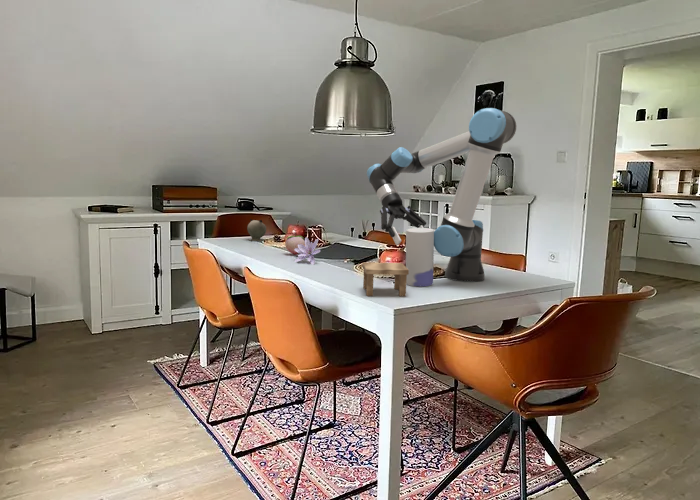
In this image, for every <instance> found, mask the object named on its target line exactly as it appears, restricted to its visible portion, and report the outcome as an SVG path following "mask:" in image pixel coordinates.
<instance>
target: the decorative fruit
mask: <svg viewBox="0 0 700 500" xmlns="http://www.w3.org/2000/svg"><path fill="white" fill-rule="evenodd" d="M298 244H302V245H304V246H305V238H304V237H303V236H302V235H297V234H296V233H295V234H294V235H289V236H287V237H286V238H285V243H284V246H285V248H286V250H287V251H288V252H289V253H291V254H293V255H294V256H295V255H299V253H298V252H296V251H295V250H294V249H295V248H298ZM305 247H306V246H305Z"/></svg>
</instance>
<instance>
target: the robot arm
mask: <svg viewBox="0 0 700 500" xmlns="http://www.w3.org/2000/svg"><path fill="white" fill-rule="evenodd" d="M516 131H517V123H516V120H515V118H514V116H513V115H512V114H511V113H510V112H508V111H505V110H504V111H503V110H500V109H497V108H494V107H486V108H485V107H484V108H481V109H479V110H477V111H476V112H475V113H474V114H473V116H471V119H470V120H469V124H468V131H465V132H463V133H459V134H458V135H455V136H452V137H450V138H447V139H445V140H443V141H440V142H437V143H435V144H432V145H430V146H428V147H425V148H422V149H419V150H417V151H414V152H412V153H411V152H410V151H409V150H408V149H407V148H405V147H403V146H400V147H398V148H397V149H395V150H394V151H393V152H392V153H391V154H390V155H389V156H388V158H386V159H385V161H384V162H382V163H374V164H373V165H371V166H370V167H368V168H367V171H366V176H367V178H368V179H367V180H368V181H369V183H370V184H371V186H372V189H373V190H374V191H375V194H376V196H377V198H378V200H379V201H380V203H381V206H382V207H381V209H380V210H379V213H380V218H381V219H380V220H381V222H380V223H381V224H380V225H381V226H380V229H381V230H382V231H385V233H388V234H389V235H390V237H391V238H392V239H393V242H394V244H395V245H396V246H399V245H400V244H401V242H402V239H401V237H400V235H399V233H398V232H397V229H396V227H395V226H393V224H394V220H396V219H400V220H401V219H402V220H404V221H407V222H408V223H410V224H411V225H412V226H414V228H425V226H426V224H427V222H426V220H425V219H423V218H422V217H421V216H420V215H419V214H418V213H417V212H416V211H415V210H414V208H413V207H412V206H410V205H407V207H405V206H404V205H403V199H402V197H401V195H399V192H398V190H397V189H396V186H395V185H394V183H393V180H395V179H396V178H397V177H398V176H399V175H400V174H406V173H407V174H417V173H421V172H423V171H424V170H425V169H427V168H430V167H433V166H436V165H439V164H440V163H443V162H444V163H445V162H446V161H449V160H452V159H454V158H458V157H460V156H462V155H466V154H467V153H468V155H467V158H466V161H465V164H464V167H463V171H462V173H461V177H460V179H459V183H458V186H457V189H456V191H455V195H454V197H453V200H452V204H451V206H450V210H449V212H448V213H446V214H444V215H443V218H442V220H441V223H440V226H438V227H437V228H436V229H434V250H435V251H436V252H437V253H438V254H440V255H442V256H443V257H446V258H447V257H450V259H449V260H448V263H447V266H446V268H445V273H444V274H445V275H444V277H445V278H446V279H449V280H452V281H453V280H454V281H460V282H480V281H481V282H482V281H484V280H485V270H484V267H483V263H482V248H483V247H482V246H483V235H484V223H483V221H481V220H477V219H476V220H475V219H474V215H475V212H476V210H477V207H478V204H479V202H480V198H481V195H482V192H483V190H484V186H485V184H486V182H487V178H488V174H489V173H490V169H491V166H492V163H493V161H494V158H495V156H497V155H498V154H500V153H501V152H502V147H503V145H504V144H506V143H508V142H510V141H511V140H512V139H513V138H514V136H515V135H516ZM388 214H389V218H388Z"/></svg>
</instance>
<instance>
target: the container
mask: <svg viewBox="0 0 700 500" xmlns="http://www.w3.org/2000/svg"><path fill="white" fill-rule="evenodd" d="M434 231H435V229H433V228H428V227H427V228H426V227H424V228H417V227H412V228H408V229H407V228H406V229H405V267H406V268H407V269H408V270H409V275H407V280H406V285H408V286H410V287H411V286H412V287H429V286H432V285H433V284H434V261H435V260H434V256H435V255H434V254H435V253H434V252H435V247H434Z"/></svg>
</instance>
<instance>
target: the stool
mask: <svg viewBox="0 0 700 500" xmlns="http://www.w3.org/2000/svg"><path fill="white" fill-rule="evenodd" d="M361 264H362V269H363V282H362V283H363V287H362V288H363V290H366V291H365V292H366V293H365V294H366V295H365V296H366V297H373V296H374V275H394V281H393V282H394V286H393V288H394V290H396V291H398V296H399V297H406V296H407V284H406V280H407V275H409V270H408V269H407V268H406V265H405V264H403V262H362V263H361Z"/></svg>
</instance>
